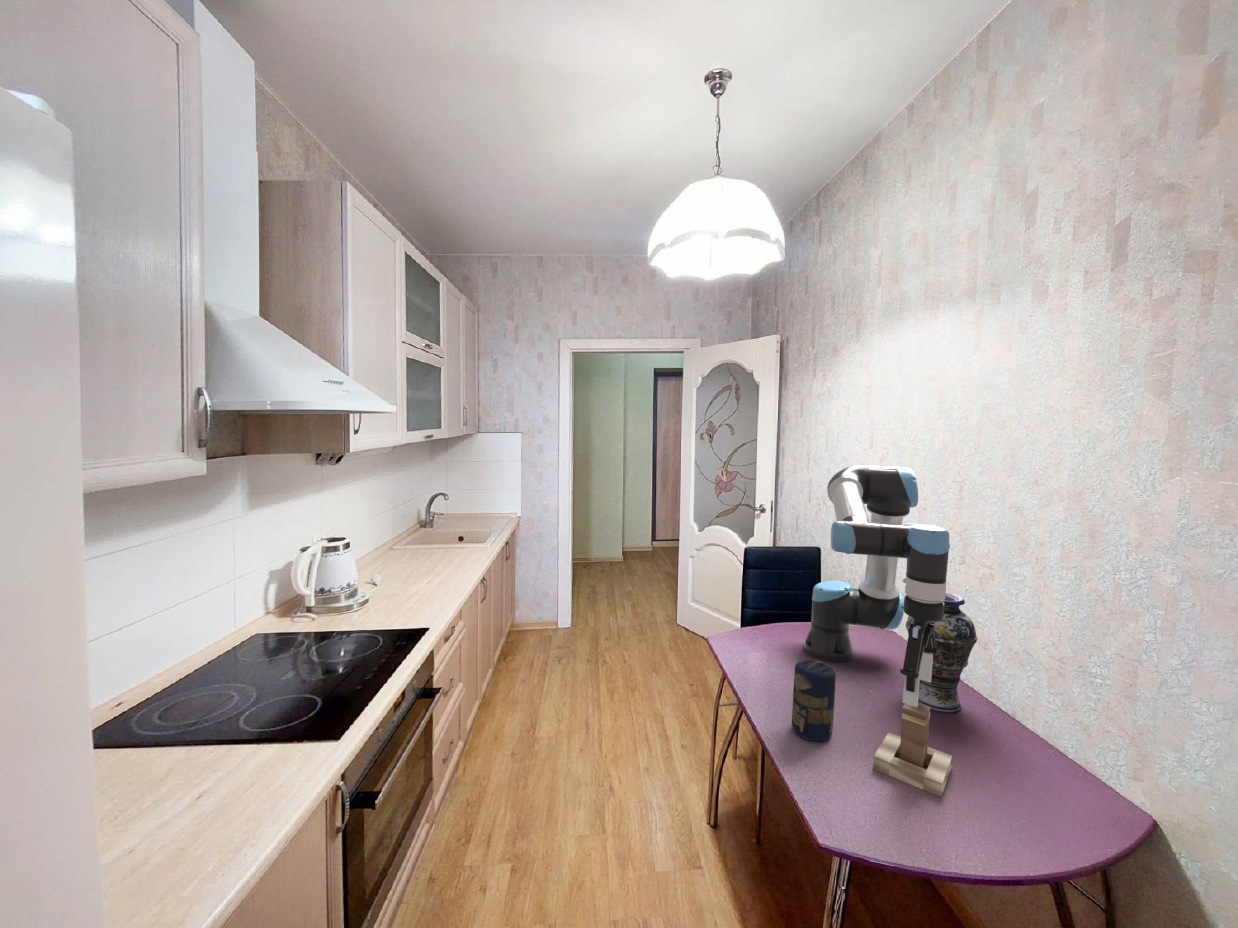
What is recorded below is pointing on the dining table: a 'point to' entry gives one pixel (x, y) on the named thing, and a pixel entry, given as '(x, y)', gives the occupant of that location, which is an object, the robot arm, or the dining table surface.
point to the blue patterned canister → (813, 699)
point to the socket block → (913, 766)
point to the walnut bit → (915, 734)
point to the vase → (948, 657)
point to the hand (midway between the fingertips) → (917, 691)
